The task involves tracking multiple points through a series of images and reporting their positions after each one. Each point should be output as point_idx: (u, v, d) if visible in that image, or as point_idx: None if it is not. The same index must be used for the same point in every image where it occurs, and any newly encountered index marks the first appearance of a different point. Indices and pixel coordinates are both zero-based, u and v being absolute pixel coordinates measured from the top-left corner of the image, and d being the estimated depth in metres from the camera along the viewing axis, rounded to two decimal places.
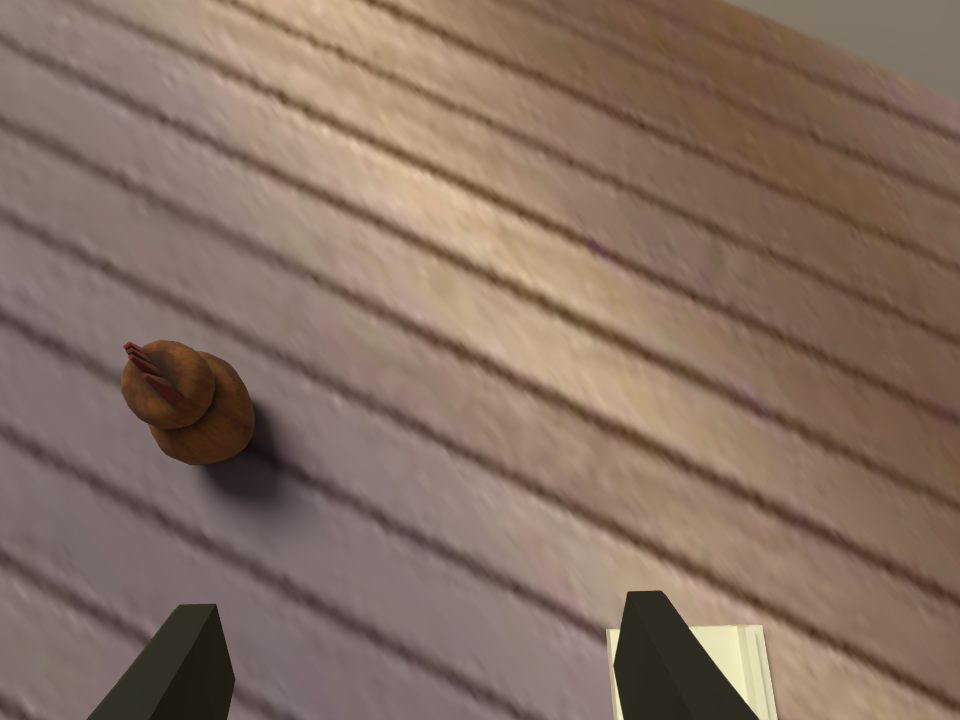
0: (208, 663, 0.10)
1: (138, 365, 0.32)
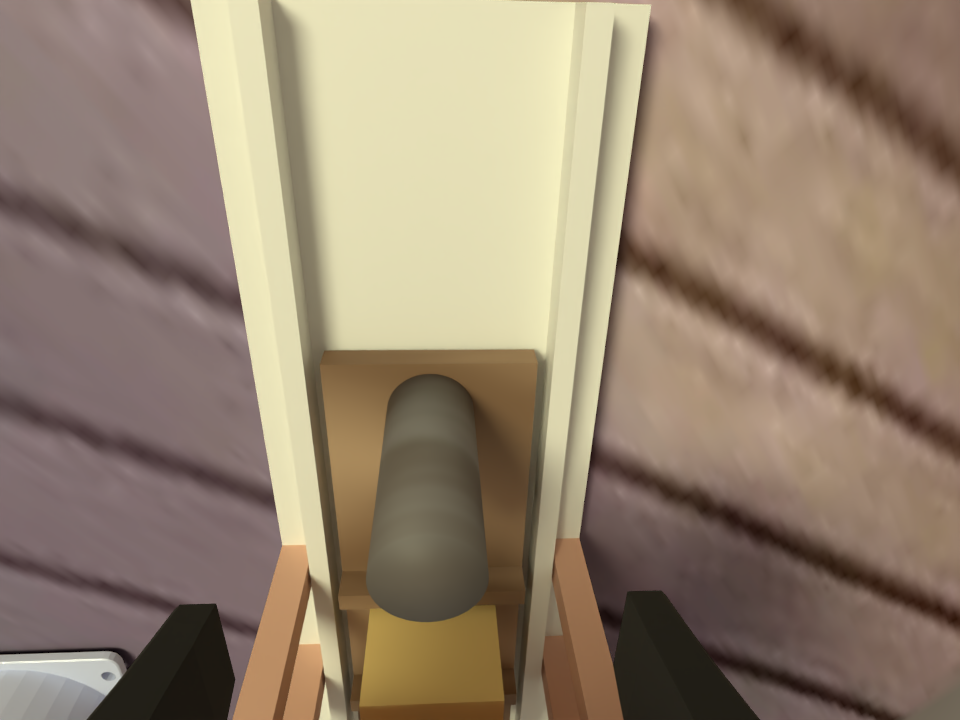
0: (208, 663, 0.10)
1: None
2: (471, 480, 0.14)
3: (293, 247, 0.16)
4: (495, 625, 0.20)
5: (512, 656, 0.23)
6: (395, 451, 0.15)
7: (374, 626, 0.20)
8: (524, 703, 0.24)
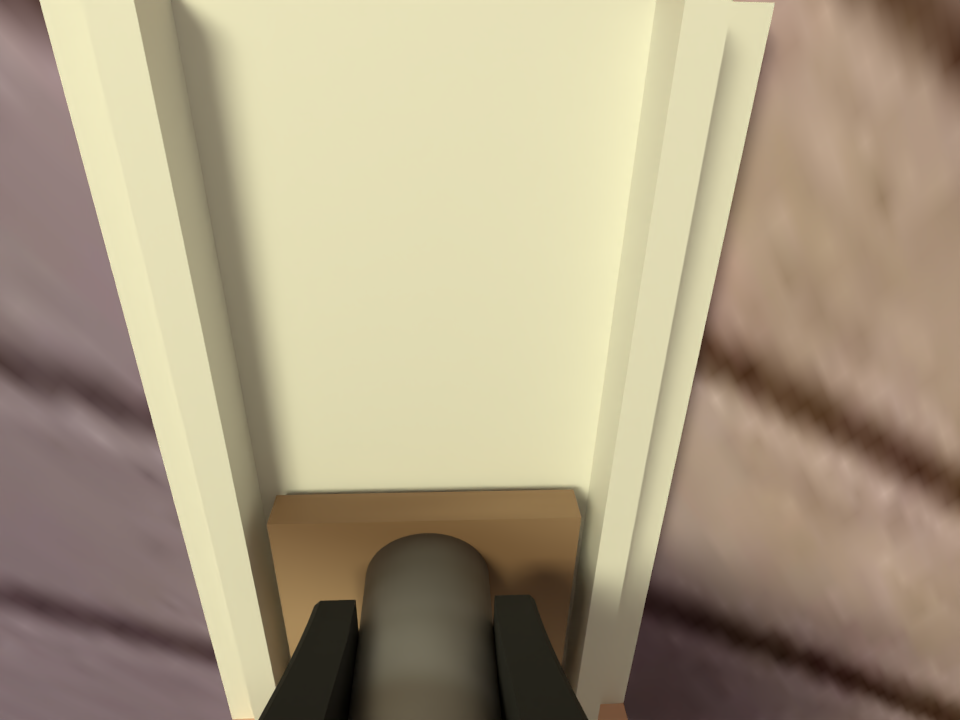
0: (353, 658, 0.10)
1: None
2: None
3: (222, 366, 0.11)
4: None
5: None
6: (372, 697, 0.09)
7: None
8: None
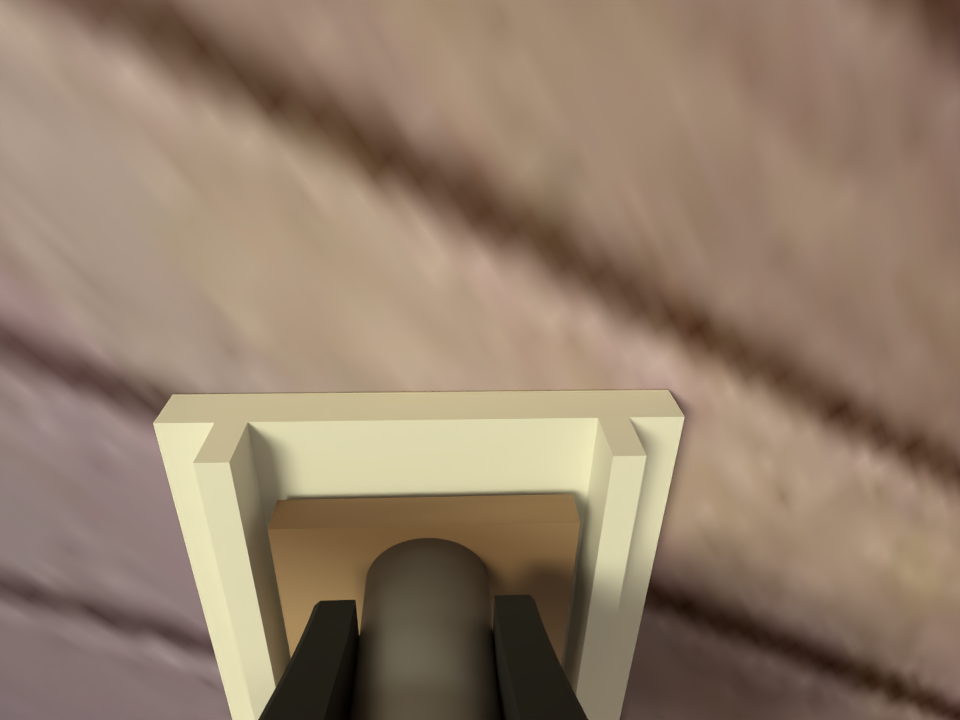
0: (353, 658, 0.10)
1: None
2: None
3: (276, 645, 0.14)
4: None
5: None
6: (372, 702, 0.09)
7: None
8: None
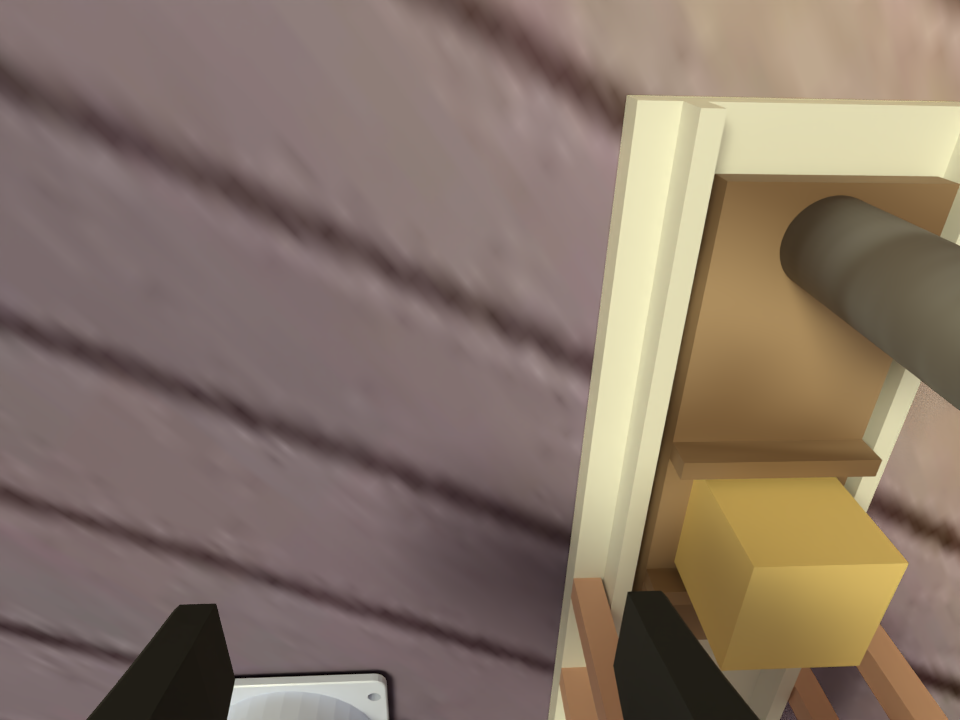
0: (208, 663, 0.10)
1: None
2: None
3: None
4: (851, 497, 0.18)
5: None
6: (885, 247, 0.13)
7: (721, 497, 0.18)
8: None
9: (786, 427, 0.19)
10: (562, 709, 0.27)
